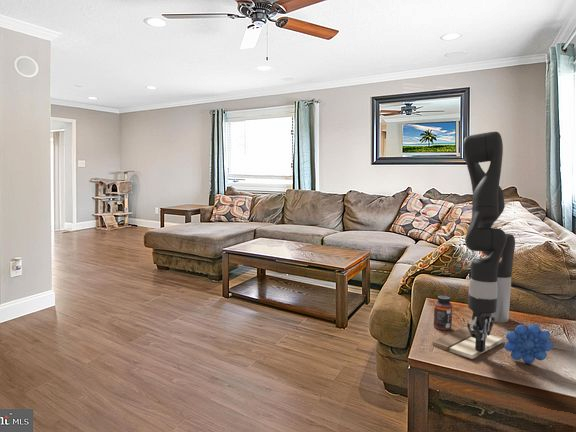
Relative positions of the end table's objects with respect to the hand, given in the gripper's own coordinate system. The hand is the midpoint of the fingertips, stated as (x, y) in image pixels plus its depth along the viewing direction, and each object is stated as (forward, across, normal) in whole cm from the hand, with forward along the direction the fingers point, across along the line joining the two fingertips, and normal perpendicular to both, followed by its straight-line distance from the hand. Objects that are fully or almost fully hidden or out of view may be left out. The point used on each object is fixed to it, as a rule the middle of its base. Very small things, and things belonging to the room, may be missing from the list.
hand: (479, 350), depth 109 cm
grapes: (+2, -8, +10) cm, 13 cm away
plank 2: (+1, -11, -3) cm, 11 cm away
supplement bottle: (+2, -11, -18) cm, 21 cm away
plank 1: (+1, 0, -3) cm, 4 cm away
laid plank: (+2, -6, -10) cm, 12 cm away
